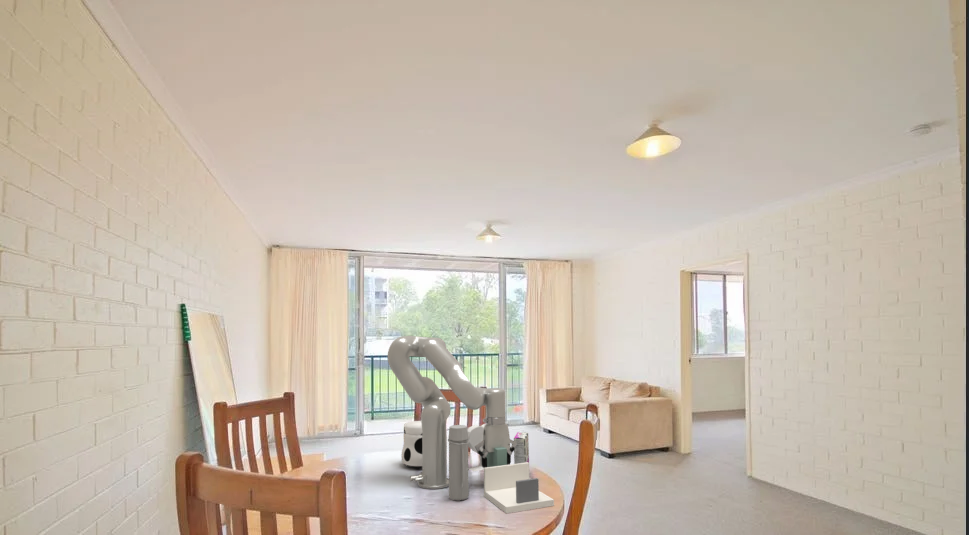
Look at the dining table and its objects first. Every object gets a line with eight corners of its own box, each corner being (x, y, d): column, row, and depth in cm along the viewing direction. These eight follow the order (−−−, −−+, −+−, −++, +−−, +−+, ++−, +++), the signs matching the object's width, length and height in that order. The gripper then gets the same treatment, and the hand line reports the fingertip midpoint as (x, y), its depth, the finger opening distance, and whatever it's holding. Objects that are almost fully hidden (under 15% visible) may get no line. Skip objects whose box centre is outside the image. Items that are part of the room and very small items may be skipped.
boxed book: (497, 491, 197) (497, 449, 199) (486, 483, 207) (485, 443, 209) (507, 489, 199) (506, 448, 200) (495, 481, 209) (494, 442, 210)
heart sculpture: (493, 463, 235) (493, 422, 237) (500, 466, 231) (499, 424, 233) (464, 469, 226) (463, 426, 228) (470, 472, 222) (470, 428, 224)
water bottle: (444, 496, 191) (444, 425, 194) (465, 493, 194) (464, 423, 197) (453, 504, 183) (453, 430, 185) (474, 501, 186) (474, 428, 188)
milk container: (402, 461, 241) (402, 420, 243) (440, 459, 243) (440, 419, 245) (400, 471, 224) (400, 428, 226) (441, 470, 226) (441, 426, 228)
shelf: (506, 513, 174) (506, 482, 175) (483, 496, 191) (483, 467, 192) (554, 505, 181) (553, 475, 182) (528, 489, 198) (527, 462, 199)
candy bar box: (517, 472, 222) (517, 431, 224) (529, 472, 221) (528, 432, 223) (513, 479, 211) (513, 437, 213) (526, 480, 210) (525, 437, 212)
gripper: (478, 424, 199) (479, 471, 197) (520, 420, 205) (520, 466, 204) (471, 421, 205) (471, 466, 204) (511, 417, 212) (512, 461, 210)
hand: (496, 466), depth 204 cm, fingers open, 9 cm apart
